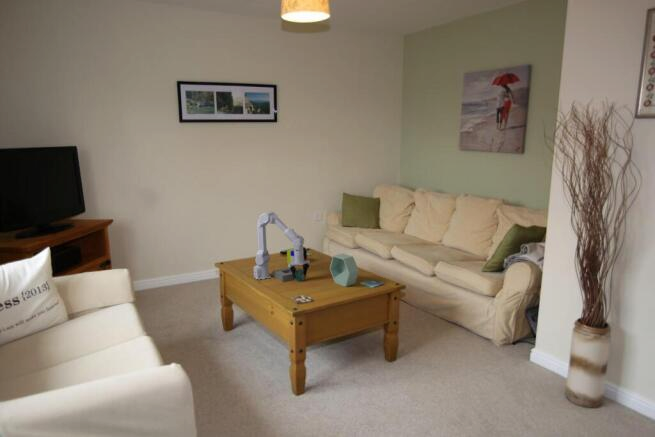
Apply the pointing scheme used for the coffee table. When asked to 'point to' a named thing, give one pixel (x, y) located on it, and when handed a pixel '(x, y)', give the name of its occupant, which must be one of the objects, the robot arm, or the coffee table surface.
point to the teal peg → (299, 275)
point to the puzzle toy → (291, 256)
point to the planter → (344, 269)
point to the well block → (283, 274)
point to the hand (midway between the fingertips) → (299, 276)
